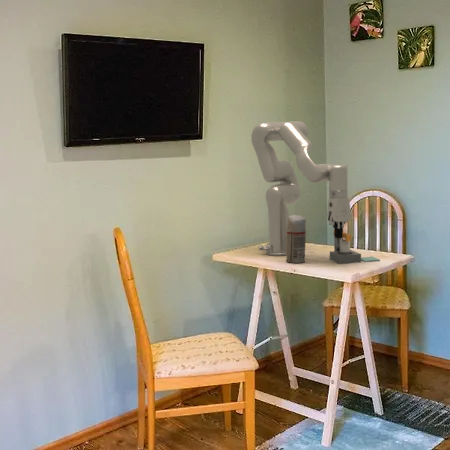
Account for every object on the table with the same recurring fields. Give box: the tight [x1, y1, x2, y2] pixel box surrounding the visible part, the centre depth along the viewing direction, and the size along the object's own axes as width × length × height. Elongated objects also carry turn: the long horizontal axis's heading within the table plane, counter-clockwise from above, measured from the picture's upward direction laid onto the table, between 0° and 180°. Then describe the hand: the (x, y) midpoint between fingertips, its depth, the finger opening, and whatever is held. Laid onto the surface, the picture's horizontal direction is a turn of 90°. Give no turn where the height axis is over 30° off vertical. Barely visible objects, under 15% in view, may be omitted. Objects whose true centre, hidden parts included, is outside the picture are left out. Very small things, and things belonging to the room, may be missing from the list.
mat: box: [361, 256, 381, 263], centre depth 285 cm, size 7×7×1 cm
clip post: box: [333, 236, 342, 251], centre depth 292 cm, size 5×5×10 cm
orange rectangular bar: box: [342, 231, 352, 242], centre depth 286 cm, size 14×4×3 cm, turn 13°
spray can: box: [285, 214, 307, 264], centre depth 284 cm, size 8×8×20 cm
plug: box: [339, 238, 351, 254], centre depth 284 cm, size 5×5×9 cm
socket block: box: [329, 249, 362, 265], centre depth 284 cm, size 10×10×4 cm
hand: (338, 237), depth 280 cm, fingers closed
